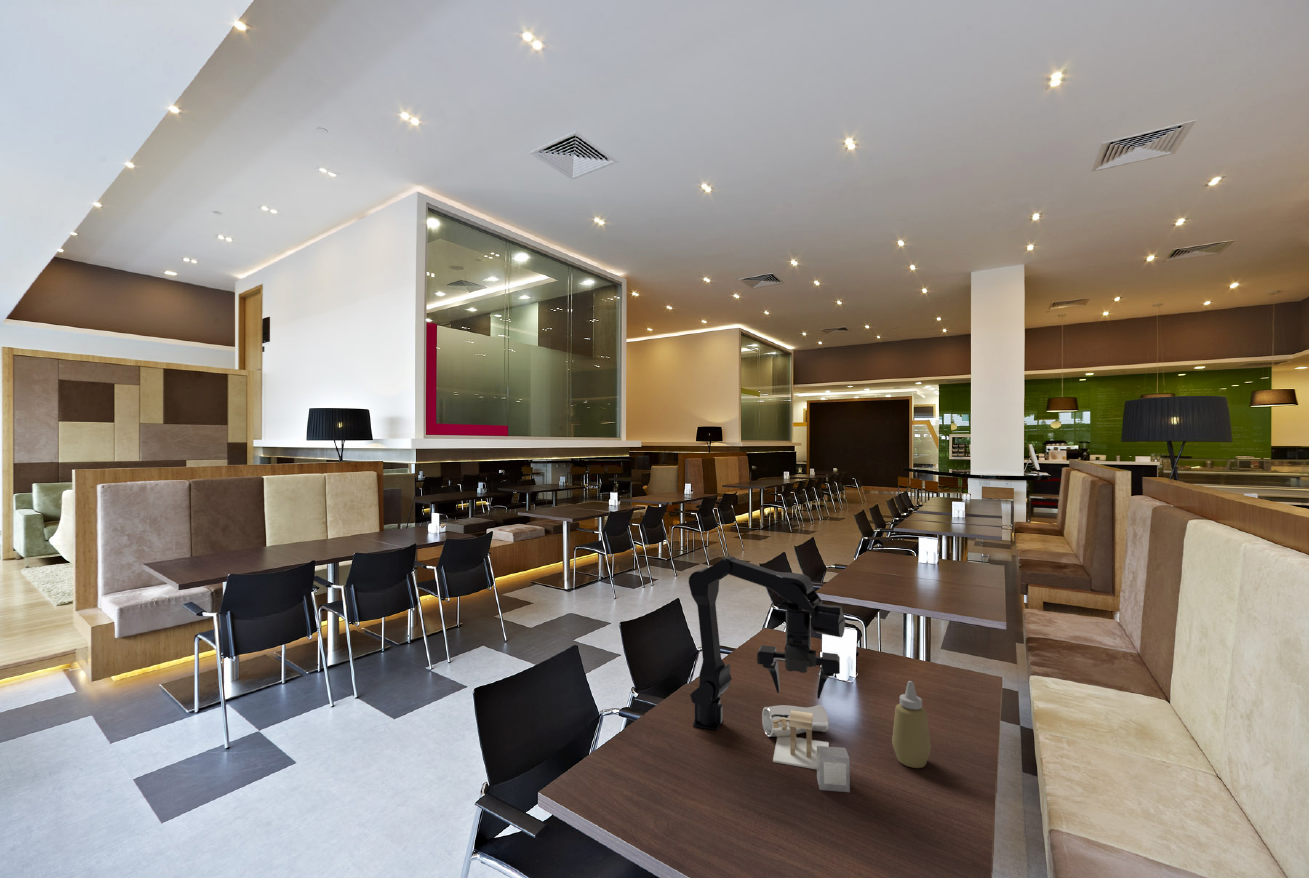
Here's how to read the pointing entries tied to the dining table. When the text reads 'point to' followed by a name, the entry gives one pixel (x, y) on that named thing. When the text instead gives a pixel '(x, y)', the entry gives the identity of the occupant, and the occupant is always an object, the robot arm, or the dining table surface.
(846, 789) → the napkin dispenser
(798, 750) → the felt pad
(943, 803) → the dining table surface
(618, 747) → the dining table surface
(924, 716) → the squeeze bottle
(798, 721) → the stool
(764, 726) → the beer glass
